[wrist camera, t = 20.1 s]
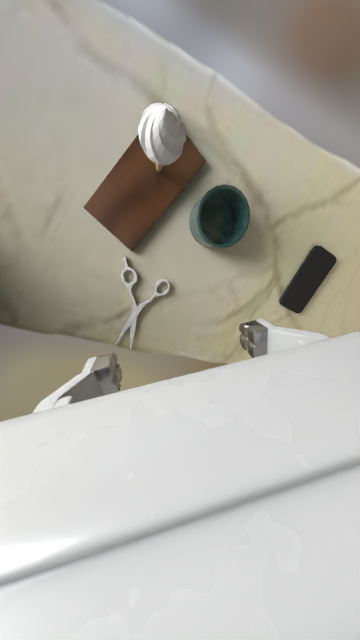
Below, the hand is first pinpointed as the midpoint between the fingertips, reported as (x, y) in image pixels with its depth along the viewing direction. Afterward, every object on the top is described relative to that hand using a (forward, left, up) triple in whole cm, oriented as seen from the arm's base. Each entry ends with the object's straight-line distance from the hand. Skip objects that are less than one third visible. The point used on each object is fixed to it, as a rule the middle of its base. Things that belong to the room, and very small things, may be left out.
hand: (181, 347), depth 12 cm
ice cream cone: (-12, +14, -28) cm, 34 cm away
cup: (+1, +16, -29) cm, 33 cm away
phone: (+27, +24, -29) cm, 46 cm away
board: (-12, +11, -29) cm, 33 cm away
